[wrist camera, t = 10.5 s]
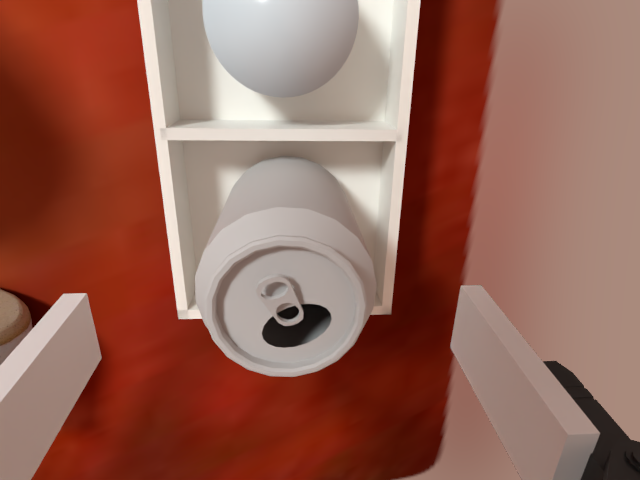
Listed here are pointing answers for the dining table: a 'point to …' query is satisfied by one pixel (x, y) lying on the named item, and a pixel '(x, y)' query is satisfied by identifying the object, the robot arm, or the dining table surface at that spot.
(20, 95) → the dining table surface
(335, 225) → the can
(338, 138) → the caddy
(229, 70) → the white dome
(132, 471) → the dining table surface
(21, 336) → the ceramic mug
